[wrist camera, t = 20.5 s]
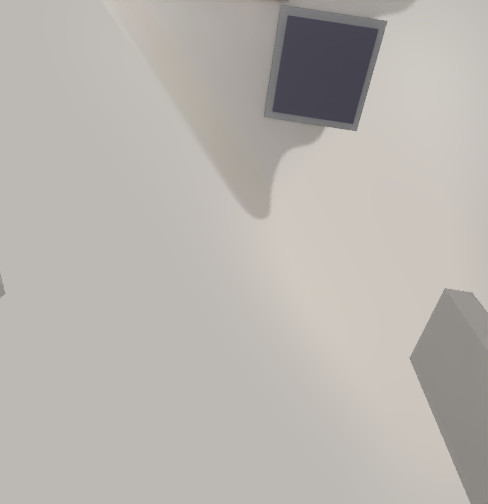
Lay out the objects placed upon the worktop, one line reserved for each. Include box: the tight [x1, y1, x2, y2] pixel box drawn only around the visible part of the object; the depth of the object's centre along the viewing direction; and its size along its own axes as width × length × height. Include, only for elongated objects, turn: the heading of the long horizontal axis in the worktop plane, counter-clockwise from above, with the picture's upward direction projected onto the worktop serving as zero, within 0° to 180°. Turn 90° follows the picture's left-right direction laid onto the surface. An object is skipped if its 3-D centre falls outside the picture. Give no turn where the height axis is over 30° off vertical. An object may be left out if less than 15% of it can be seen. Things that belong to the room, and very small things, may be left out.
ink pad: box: [264, 5, 387, 131], centre depth 32 cm, size 9×9×2 cm
